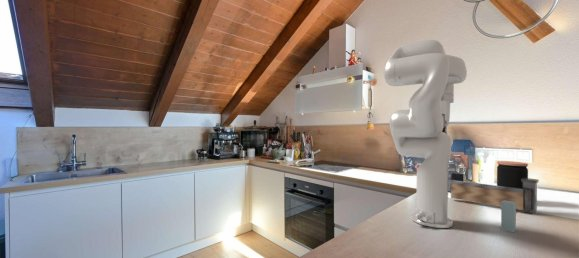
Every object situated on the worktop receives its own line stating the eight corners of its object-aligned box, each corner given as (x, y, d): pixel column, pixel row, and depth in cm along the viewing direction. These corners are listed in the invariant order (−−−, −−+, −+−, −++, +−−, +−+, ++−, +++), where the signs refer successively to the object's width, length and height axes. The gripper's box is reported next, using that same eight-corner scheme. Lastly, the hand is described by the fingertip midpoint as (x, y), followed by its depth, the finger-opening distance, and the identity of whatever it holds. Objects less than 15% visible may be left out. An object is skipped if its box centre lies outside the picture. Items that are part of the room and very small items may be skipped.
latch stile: (513, 232, 79) (513, 203, 79) (501, 229, 81) (501, 201, 81) (515, 230, 81) (515, 202, 81) (503, 227, 83) (504, 200, 83)
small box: (464, 194, 128) (464, 173, 128) (450, 193, 129) (450, 173, 129) (455, 189, 138) (455, 170, 138) (442, 188, 140) (442, 169, 140)
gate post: (536, 214, 97) (536, 180, 97) (520, 211, 101) (521, 178, 101) (538, 212, 100) (538, 179, 100) (523, 209, 103) (523, 177, 104)
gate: (450, 198, 115) (450, 180, 115) (451, 197, 117) (451, 179, 117) (531, 212, 97) (531, 190, 97) (531, 211, 98) (531, 190, 98)
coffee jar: (531, 206, 107) (531, 164, 107) (498, 202, 113) (499, 162, 113) (524, 201, 116) (524, 162, 116) (494, 197, 122) (495, 160, 122)
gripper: (433, 101, 115) (433, 141, 115) (431, 97, 103) (431, 142, 103) (453, 100, 111) (453, 142, 111) (453, 96, 99) (453, 143, 99)
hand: (442, 142), depth 107 cm, fingers closed
